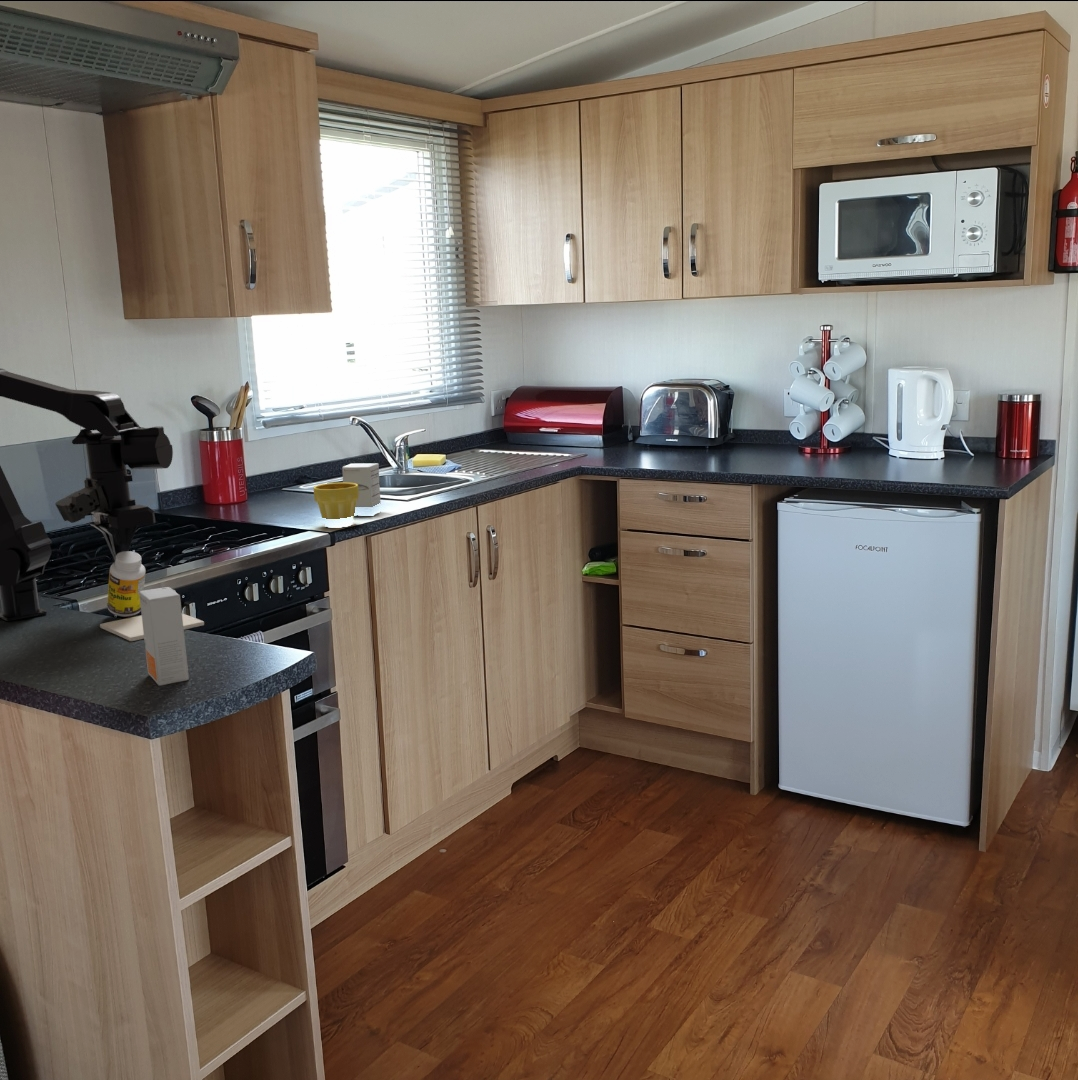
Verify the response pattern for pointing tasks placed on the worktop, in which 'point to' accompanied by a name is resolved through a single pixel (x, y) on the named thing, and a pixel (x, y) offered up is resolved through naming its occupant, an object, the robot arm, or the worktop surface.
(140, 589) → the supplement bottle
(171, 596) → the skincare box
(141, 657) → the worktop surface
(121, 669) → the worktop surface
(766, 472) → the worktop surface
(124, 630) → the mat
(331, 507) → the plant pot
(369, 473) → the supplement box
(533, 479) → the worktop surface
